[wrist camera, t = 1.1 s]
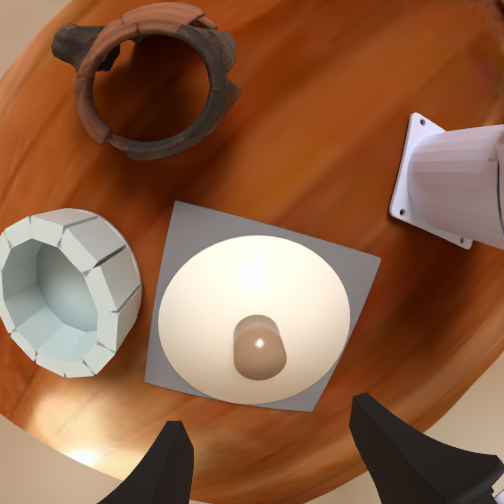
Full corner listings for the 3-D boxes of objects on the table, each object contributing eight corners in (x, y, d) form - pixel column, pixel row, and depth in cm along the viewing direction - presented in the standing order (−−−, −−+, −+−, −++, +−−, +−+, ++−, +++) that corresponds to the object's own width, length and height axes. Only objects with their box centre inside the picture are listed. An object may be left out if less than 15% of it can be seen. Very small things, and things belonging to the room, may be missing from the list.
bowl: (154, 227, 17) (127, 244, 12) (135, 355, 19) (115, 397, 14) (36, 196, 16) (-8, 203, 11) (33, 315, 18) (0, 342, 13)
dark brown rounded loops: (259, 36, 15) (285, 38, 9) (201, 143, 21) (195, 203, 15) (104, -10, 10) (43, -22, 4) (64, 102, 16) (5, 146, 10)
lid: (373, 263, 18) (400, 280, 15) (308, 407, 21) (318, 437, 17) (181, 210, 17) (167, 218, 13) (151, 378, 19) (139, 409, 16)
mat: (378, 256, 19) (381, 258, 18) (310, 408, 22) (311, 411, 21) (176, 200, 17) (175, 200, 16) (145, 378, 20) (144, 381, 19)
